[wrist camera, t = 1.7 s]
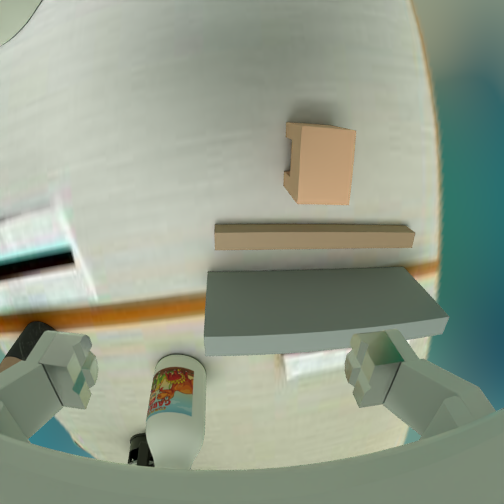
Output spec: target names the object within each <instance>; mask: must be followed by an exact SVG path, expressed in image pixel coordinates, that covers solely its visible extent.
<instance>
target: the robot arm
mask: <svg viewBox="0 0 504 504" xmlns="http://www.w3.org/2000/svg"><path fill="white" fill-rule="evenodd" d="M41 1H42V0H0V46H1V45H3V44H4V43H6V42H7V41H8V40H10V39H11V38H12V37H13V36H14V35H15V34H17V33H18V32H19V31H20V29H21V28H22V27H23V26H24V25H25V24H26V22H27V21H28V20H29V19H30V17H31V16H32V14H33V13H34V11H35V10H36V8H37V6H38V5H39V3H40V2H41ZM91 346H92V344H91V341H90V338H89V336H87V335H84V334H75V333H67V332H57V331H49V330H48V331H45V332H44V333H43V334H42V336H41V337H40V339H39V340H38V342H37V343H36V345H35V347H34V348H33V350H32V351H31V353H30V354H29V356H28V357H27V359H26V361H20V362H18V363H16V364H15V365H13V366H11V367H9V368H8V369H6V370H4V371H3V372H1V373H0V504H504V408H502V409H500V410H498V411H495V409H494V408H493V406H492V405H491V404H490V402H489V401H488V399H487V398H486V397H485V395H484V394H483V392H482V391H481V390H480V388H479V387H477V386H475V385H473V384H472V383H469V382H468V381H466V380H463V379H462V378H460V377H458V376H456V375H454V374H452V373H450V372H448V371H446V370H444V369H442V368H440V367H438V366H437V365H435V364H433V363H431V362H429V361H427V360H425V359H419V358H418V357H417V355H416V354H415V352H414V351H413V349H412V348H411V347H410V345H409V344H408V342H407V341H406V339H405V338H404V337H403V335H402V334H401V332H400V331H399V330H397V329H390V330H382V331H377V332H368V333H357V334H353V336H352V338H351V341H350V346H351V348H352V350H351V351H350V352H349V353H348V354H347V356H346V360H345V374H346V378H347V380H348V383H350V384H351V385H353V386H354V390H353V395H354V397H355V399H356V402H357V404H358V406H359V408H361V407H368V406H375V405H381V404H383V406H385V407H386V408H387V409H388V410H390V411H391V412H392V413H393V414H395V415H396V416H397V417H398V418H400V419H401V420H402V421H403V422H405V423H406V424H407V425H408V426H410V427H411V428H412V429H413V430H415V431H416V432H417V433H419V434H420V435H421V438H420V439H419V441H416V442H412V443H409V444H405V445H402V446H398V447H394V448H390V449H386V450H382V451H378V452H374V453H369V454H365V455H360V456H355V457H350V458H345V459H340V460H334V461H328V462H321V463H314V464H307V465H299V466H290V467H279V468H267V469H250V470H186V469H169V468H157V467H146V466H137V465H129V464H122V463H115V462H109V461H103V460H97V459H92V458H87V457H82V456H77V455H73V454H68V453H64V452H60V451H56V450H52V449H48V448H45V447H41V446H37V445H34V444H31V443H30V441H29V440H28V439H29V438H30V437H31V436H32V435H33V434H34V433H35V432H36V431H37V430H39V429H40V428H41V427H42V426H43V425H44V424H45V423H46V422H47V421H48V420H50V419H51V418H52V417H53V416H54V415H55V414H56V413H57V412H59V411H60V410H61V409H62V408H63V407H62V406H65V407H71V408H78V409H86V408H87V405H88V402H89V399H90V397H91V392H90V390H89V388H91V387H92V386H93V385H95V383H96V380H97V378H98V363H97V359H96V356H95V355H94V354H93V353H92V352H91V351H90V349H91Z"/></svg>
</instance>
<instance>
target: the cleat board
mask: <svg viewBox="0 0 504 504" xmlns="http://www.w3.org/2000/svg"><path fill="white" fill-rule="evenodd" d="M414 236H415V232H414V231H412V230H411V229H410V228H408V227H407V226H406V225H356V224H224V225H215V250H267V249H341V248H412V245H413V241H414ZM448 319H449V316H448V315H447V314H446V313H445V312H444V310H443V309H442V308H441V307H440V306H439V305H438V304H437V302H436V301H435V300H434V299H433V298H432V297H431V296H430V295H429V294H428V293H427V292H426V290H425V289H424V288H423V287H422V286H421V285H420V284H419V283H418V282H417V281H416V280H415V279H414V278H413V277H412V276H411V275H410V274H409V273H408V271H407V270H406V269H405V268H404V267H380V268H352V269H320V270H283V271H236V272H208V277H207V292H206V307H205V325H204V345H205V356H240V355H265V354H282V353H297V352H310V351H322V350H332V349H342V348H351V346H350V341H351V338H352V336H353V334H357V333H368V332H377V331H382V330H390V329H397V330H399V331H400V332H401V334H402V335H403V337H404V338H405V339H406V340H410V339H416V338H422V337H427V336H433V335H438V334H442V333H443V331H444V328H445V326H446V323H447V321H448Z"/></svg>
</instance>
